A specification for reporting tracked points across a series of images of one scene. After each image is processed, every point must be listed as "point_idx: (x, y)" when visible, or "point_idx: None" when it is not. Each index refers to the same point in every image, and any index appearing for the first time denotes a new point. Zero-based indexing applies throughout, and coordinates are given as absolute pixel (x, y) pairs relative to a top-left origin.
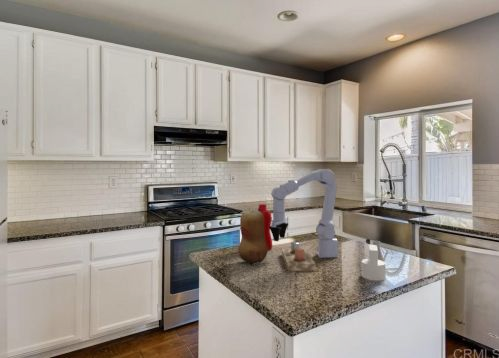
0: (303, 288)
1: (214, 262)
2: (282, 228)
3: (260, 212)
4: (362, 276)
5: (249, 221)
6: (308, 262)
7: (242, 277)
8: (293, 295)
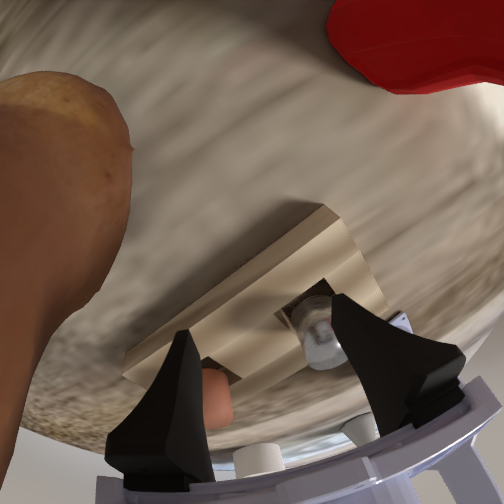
0: (76, 412)
1: None
2: (375, 381)
3: None
4: (241, 448)
5: None
6: None
7: None
8: (39, 406)
